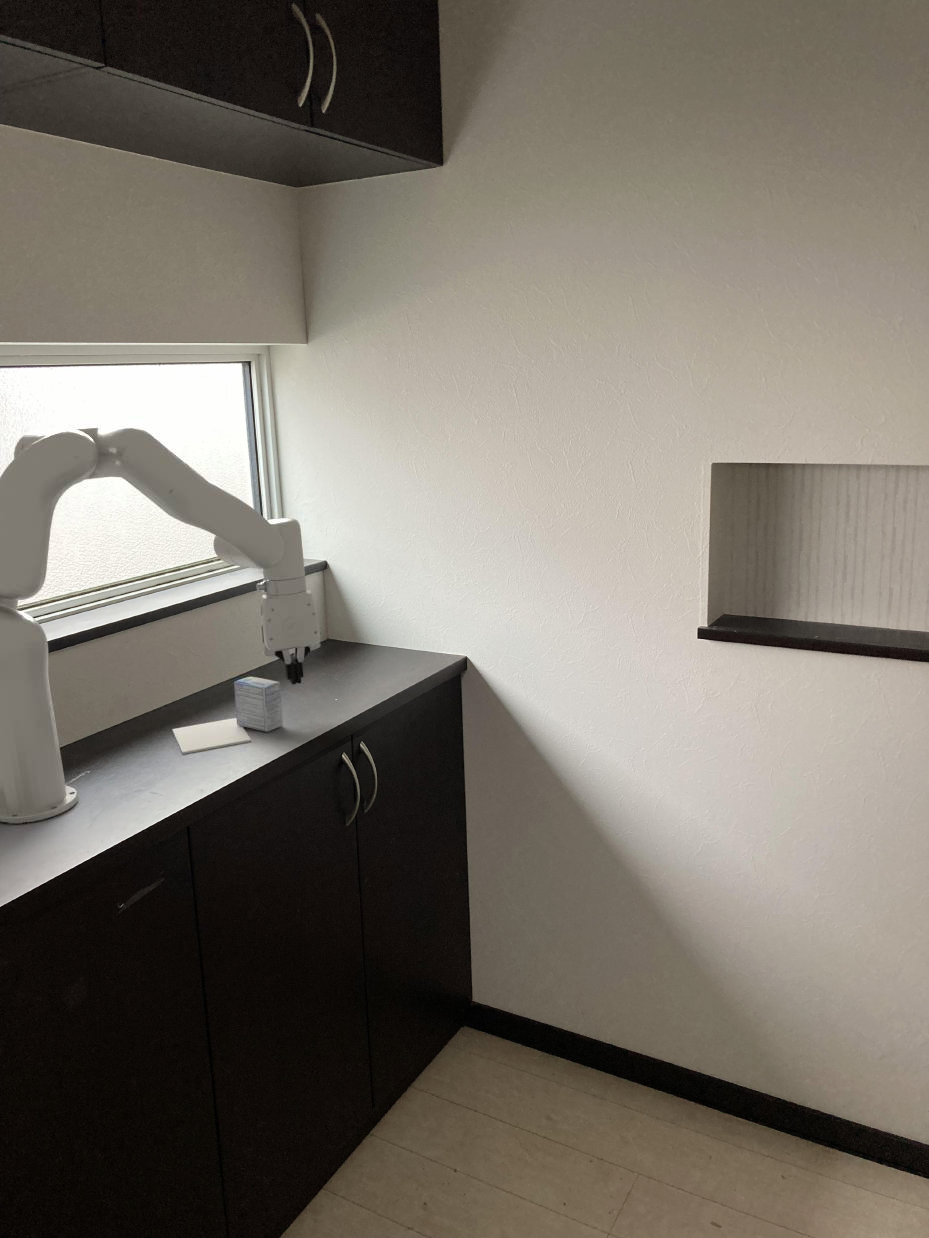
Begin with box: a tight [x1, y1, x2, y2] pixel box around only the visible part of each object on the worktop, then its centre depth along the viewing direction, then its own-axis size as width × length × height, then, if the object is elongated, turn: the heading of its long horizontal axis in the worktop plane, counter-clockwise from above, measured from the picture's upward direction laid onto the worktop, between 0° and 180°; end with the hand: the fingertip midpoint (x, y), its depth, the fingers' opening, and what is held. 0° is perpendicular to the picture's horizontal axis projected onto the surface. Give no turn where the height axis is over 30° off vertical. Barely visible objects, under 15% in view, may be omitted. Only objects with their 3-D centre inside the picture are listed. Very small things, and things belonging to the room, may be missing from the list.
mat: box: [172, 717, 252, 755], centre depth 187 cm, size 12×14×1 cm
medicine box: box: [233, 676, 284, 732], centre depth 189 cm, size 8×4×9 cm, turn 56°
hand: (295, 681), depth 191 cm, fingers closed
